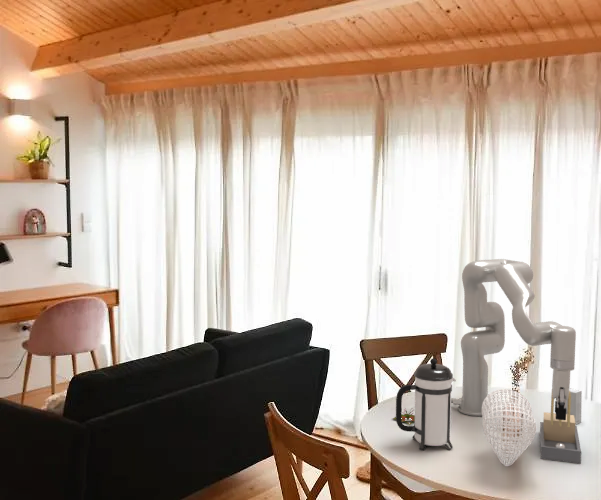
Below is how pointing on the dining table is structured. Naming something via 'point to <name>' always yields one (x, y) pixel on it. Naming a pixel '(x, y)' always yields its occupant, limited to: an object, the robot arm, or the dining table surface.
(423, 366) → the coffee press
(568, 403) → the tan slotted block
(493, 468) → the dining table surface
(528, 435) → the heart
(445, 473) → the dining table surface
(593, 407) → the dining table surface
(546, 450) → the shaker tray
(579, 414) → the skincare box
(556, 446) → the ball
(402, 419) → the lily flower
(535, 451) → the dining table surface
